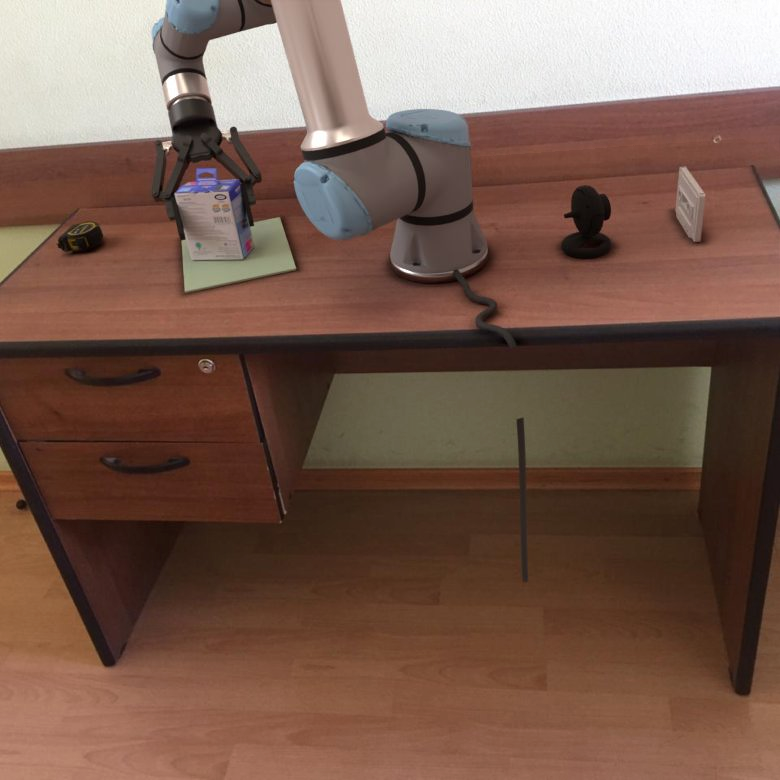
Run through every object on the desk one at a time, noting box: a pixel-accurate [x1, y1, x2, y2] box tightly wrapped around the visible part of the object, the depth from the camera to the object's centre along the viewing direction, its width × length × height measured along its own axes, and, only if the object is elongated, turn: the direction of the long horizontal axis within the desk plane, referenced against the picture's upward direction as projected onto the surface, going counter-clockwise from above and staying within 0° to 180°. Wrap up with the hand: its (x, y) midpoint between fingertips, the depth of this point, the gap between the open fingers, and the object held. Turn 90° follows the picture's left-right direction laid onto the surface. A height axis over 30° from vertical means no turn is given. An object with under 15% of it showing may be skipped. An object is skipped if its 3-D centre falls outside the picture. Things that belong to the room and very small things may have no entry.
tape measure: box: [56, 220, 104, 252], centre depth 151 cm, size 7×7×4 cm
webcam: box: [561, 184, 612, 259], centre depth 126 cm, size 8×8×10 cm
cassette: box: [675, 165, 707, 243], centre depth 129 cm, size 12×2×8 cm, turn 178°
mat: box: [181, 216, 297, 294], centre depth 142 cm, size 22×18×1 cm
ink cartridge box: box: [174, 167, 254, 260], centre depth 137 cm, size 10×6×14 cm, turn 79°
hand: (217, 230), depth 136 cm, fingers closed on ink cartridge box, 11 cm apart
